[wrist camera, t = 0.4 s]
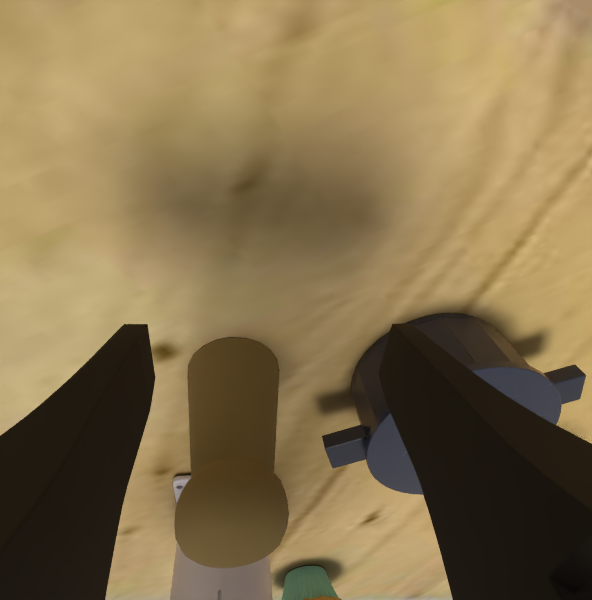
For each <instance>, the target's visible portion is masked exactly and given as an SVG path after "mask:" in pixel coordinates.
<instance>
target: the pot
mask: <svg viewBox="0 0 592 600" xmlns="http://www.w3.org/2000/svg"><path fill="white" fill-rule="evenodd" d="M406 324H411V325H413V326H414V327H416V328H417V329H418V330H420V331H421V332H422V333H424V334H425V335H426V336H428V337H429V338H430V339H431V340H433V341H434V342H435V343H436V344H438V345H439V346H440V347H441V348H443V349H444V350H445V351H446V352H448V353H449V354H450V355H451V356H453V357H454V358H455V359H457V360H458V361H459V362H460V363H462V364H463V365H464V366H466V365H470V364H476V363H482V362H496V361H502V362H514V363H520V364H524V365H527V366H529V365H528V363H527V362H526V361H525V360H524V359H523V358H522V357H521V356H520V355H519V354H518V352H517V351H516V350H515V349H514V348H513V347H512V346H511V345H510V344H509V343H508V341H507V340H506V339H505V338H504V337H503V336H502V335H501V334H500V333H499V332H498V330H496V329H494V328H493V327H492V326H490V325H489V324H488V323H486V322H485V321H483V320H481V319H478V318H476V317H473V316H469V315H464V314H454V313H452V314H438V315H431V316H427V317H423V318H419V319H417V320H414V321H411V322H408V323H406ZM389 334H390V332H389V333H388V334H386V335H385V336H384V337H382V338H381V339H380V340H378V341H377V342H376V343H375V344H374V345H373V346H372V347H371V348H370V349H369V350H368V351H367V352H366V353H365V355H364V356H363V357H362V359H361V360H360V362H359V364H358V366H357V367H356V369H355V372H354V375H353V379H352V384H351V392H352V398H353V401H354V404H355V408H356V411H357V415H358V418H359V421H360V424H361V425H359V426H355V427H352V428H348V429H345V430H341V431H338V432H334V433H331V434H327V435H324V436H322V438H323V442H324V447H325V450H326V453H327V455H328V458H329V460H330V463H331V465H332V468H336V467H340V466H343V465H347V464H351V463H354V462H358V461H361V460H365V459H366V457H365V444H366V440H367V436H368V434H369V432H370V429H371V427H372V426H373V424H374V423H375V421H376V419H377V418H378V417H379V416H380V415H381V413H382V412H383V411H384V410H385V409H386V408H387V407H388V406H387V403H386V400H385V397H384V393H383V390H382V386H381V382H380V378H379V374H378V372H379V368H380V365H381V361H382V358H383V354H384V351H385V347H386V344H387V341H388V337H389ZM543 374H544V375H546V376H547V377H548V378H549V379H550V380H551V381H552V382H553V383H554V385H555V386H556V388H557V389H558V392H559V394H560V397H561V404H564V403H568V402H572V401H575V400H579V399H580V397H581V393H582V389H583V385H584V381H585V377H586V375H585V374H584V373H583V372H582V371H581V370H580V369H579V368H578V367H577V366H576V365H571V366H568V367H564V368H561V369H557V370H554V371H550V372H546V373H543Z"/></svg>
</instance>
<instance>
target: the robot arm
mask: <svg viewBox="0 0 592 600" xmlns="http://www.w3.org/2000/svg"><path fill="white" fill-rule="evenodd" d="M378 374H379V378H380V382H381V386H382V390H383V393H384V397H385V400H386V403H387V406H388V408H389V410H390V413H391V415H392V418H393V420H394V422H395V425H396V427H397V429H398V432H399V434H400V436H401V439H402V441H403V443H404V446H405V448H406V450H407V453H408V455H409V457H410V460H411V462H412V464H413V466H414V469H415V472H416V474H417V477H418V479H419V482H420V485H421V488H422V491H423V494H424V498H425V501H426V504H427V507H428V510H429V513H430V517H431V520H432V524H433V527H434V530H435V534H436V537H437V541H438V544H439V548H440V551H441V555H442V559H443V563H444V567H445V570H446V574H447V578H448V582H449V586H450V590H451V594H452V598H453V600H592V444H591V443H589V442H587V441H585V440H583V439H581V438H579V437H577V436H575V435H573V434H571V433H570V432H568V431H566V430H564V429H562V428H560V427H558V426H556V425H555V424H553V423H551V422H549V421H547V420H546V419H544V418H542V417H540V416H539V415H537V414H535V413H534V412H532V411H530V410H529V409H527V408H525V407H524V406H522V405H521V404H519V403H517V402H516V401H514V400H512V399H511V398H509V397H508V396H506V395H505V394H503V393H502V392H500V391H499V390H497V389H496V388H495V387H493V386H492V385H490V384H489V383H487V382H486V381H485V380H483V379H482V378H480V377H479V376H478V375H476V374H475V373H474V372H472V371H471V370H470V369H468V368H467V367H466V366H464V365H463V364H462V363H460V362H459V361H458V360H457V359H455V358H454V357H453V356H451V355H450V354H449V353H448V352H446V351H445V350H444V349H443V348H441V347H440V346H439V345H438V344H436V343H435V342H434V341H433V340H431V339H430V338H429V337H428V336H426V335H425V334H424V333H422V332H421V331H420V330H418V329H417V328H416V327H414V326H413V325H411V324H392V327H391V330H390V334H389V337H388V341H387V344H386V347H385V351H384V354H383V358H382V361H381V365H380V368H379V372H378ZM154 382H155V373H154V366H153V359H152V353H151V346H150V339H149V332H148V325H147V324H124V325H123V326H122V327H121V328H120V329H119V330H118V331H117V332H116V333H115V334H114V335H113V336H112V337H111V338H110V339H109V340H108V341H107V342H106V343H105V344H104V345H103V346H102V347H101V348H100V349H99V350H98V351H97V352H96V354H95V355H94V356H93V357H92V358H91V359H90V360H89V361H87V362H86V363H85V364H84V365H83V366H82V367H81V368H80V369H79V370H78V371H77V372H76V373H75V374H74V375H73V376H72V377H71V378H70V379H69V380H68V381H67V382H66V383H64V384H63V385H62V386H61V387H60V388H59V389H58V390H57V391H55V392H54V393H53V394H52V395H51V396H50V397H49V398H48V399H46V400H45V401H44V402H43V403H42V404H41V405H39V406H38V407H37V408H36V409H35V410H33V411H32V412H31V413H30V414H29V415H27V416H26V417H25V418H24V419H22V420H21V421H20V422H18V423H17V424H16V425H14V426H13V427H12V428H10V429H9V430H8V431H6V432H5V433H4V434H2V435H1V436H0V600H105V596H106V590H107V584H108V579H109V573H110V568H111V562H112V557H113V551H114V546H115V541H116V536H117V531H118V525H119V520H120V515H121V510H122V505H123V501H124V497H125V493H126V489H127V485H128V482H129V479H130V475H131V472H132V469H133V466H134V462H135V459H136V456H137V452H138V449H139V446H140V442H141V439H142V436H143V432H144V429H145V425H146V422H147V419H148V415H149V412H150V407H151V401H152V395H153V389H154ZM190 479H191V475H185V476H177V477H175V478H174V479H173V488H174V493H175V499H176V505H177V502H178V499H179V497H180V494H181V491H182V490H183V488H184V487H185V485H186V483H187V482H188V481H189V480H190ZM170 600H272V588H271V572H270V555H268V556H266V557H265V558H263V559H261V560H259V561H257V562H255V563H252V564H249V565H245V566H240V567H235V568H212V567H207V566H203V565H200V564H198V563H196V562H194V561H192V560H191V559H189V558H188V557H186V556H185V555H184V553H183V552H182V550H181V548H180V546H179V544H178V542H177V546H176V554H175V562H174V571H173V579H172V587H171V595H170Z"/></svg>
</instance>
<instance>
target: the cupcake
mask: <svg viewBox="0 0 592 600" xmlns="http://www.w3.org/2000/svg"><path fill="white" fill-rule="evenodd" d="M282 600H341V599H339V598H338V596H337V594H336V592H335V591H334V589H333V587H332V585H331V583H330V581H329V578H328V576H327V574H326V571H325V570H324V569H323V568H322V567H319V566H303V567H299V568H296V569H294V570H292V571H290V572H289V573H288V574H287V575H286V577H285V584H284V591H283V596H282Z"/></svg>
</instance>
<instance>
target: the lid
mask: <svg viewBox="0 0 592 600" xmlns="http://www.w3.org/2000/svg"><path fill="white" fill-rule="evenodd" d="M466 367H467V368H468V369H470V370H471V371H472V372H474V373H475V374H476V375H478V376H479V377H480V378H482V379H483V380H485V381H486V382H487V383H489V384H490V385H492V386H493V387H495V388H496V389H497V390H499V391H500V392H502V393H503V394H505V395H506V396H508V397H509V398H511V399H512V400H514V401H516V402H517V403H519V404H521V405H522V406H524V407H525V408H527V409H529V410H530V411H532V412H534V413H535V414H537V415H539V416H540V417H542V418H544V419H546V420H547V421H549V422H551V423H553V424H555V425H556V424H557V422H558V419H559V416H560V413H561V397H560V394H559V392H558V389H557V388H556V386H555V385H554V383H553V382H552V381H551V380H550V379H549V378H548V377H547V376H546V375H544V374H543V373H542V372H540V371H539V370H537V369H535V368H533V367H530V366H527V365H524V364H520V363H514V362H502V361H496V362H482V363H476V364H470V365H466ZM365 457H366V462H367V465H368V467H369V470H370V472H371V473H372V475H373V476H374V478H375V479H377V480H378V481H379V482H380V483H381V484H383V485H385V486H386V487H388V488H391V489H393V490H396V491H399V492H403V493H409V494H421V495H424V494H423V491H422V488H421V485H420V482H419V479H418V477H417V474H416V472H415V469H414V466H413V464H412V462H411V460H410V457H409V455H408V453H407V450H406V448H405V446H404V443H403V441H402V439H401V436H400V434H399V432H398V429H397V427H396V425H395V422H394V420H393V418H392V415H391V413H390V410H389V408H388V407H387V408H386V409H385V410H384V411H383V412H382V413H381V415H380V416H379V417H378V418H377V419H376V421H375V423H374V424H373V426H372V427H371V429H370V432H369V434H368V436H367V440H366V444H365Z"/></svg>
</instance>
